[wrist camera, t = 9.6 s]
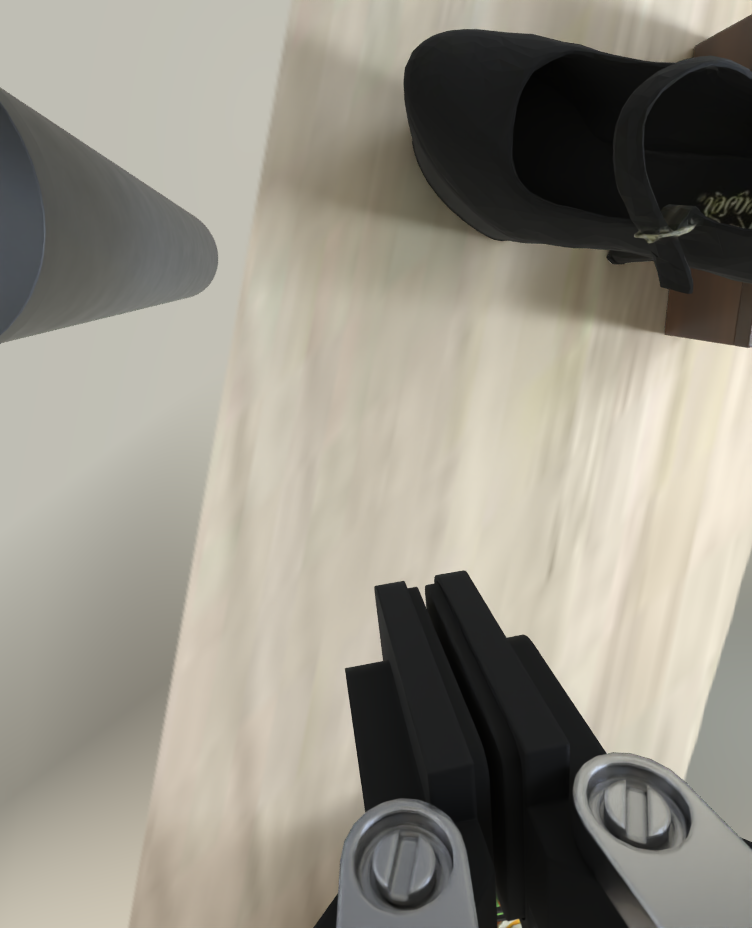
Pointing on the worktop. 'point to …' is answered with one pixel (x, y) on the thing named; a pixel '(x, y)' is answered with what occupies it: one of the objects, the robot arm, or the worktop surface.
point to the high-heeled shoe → (588, 149)
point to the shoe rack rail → (714, 297)
